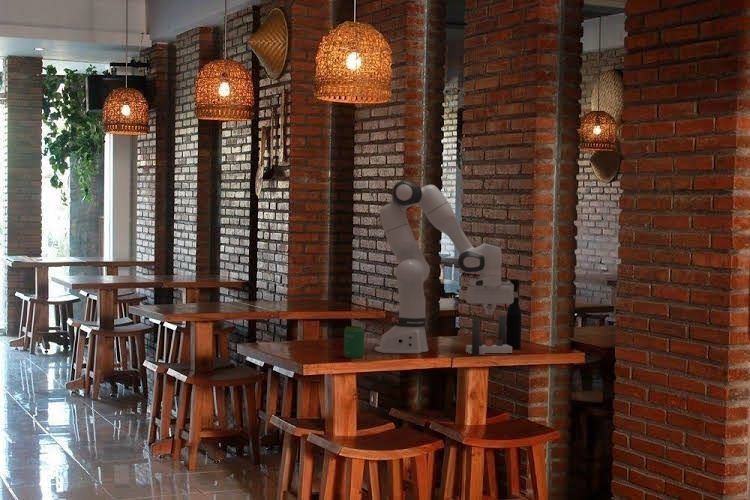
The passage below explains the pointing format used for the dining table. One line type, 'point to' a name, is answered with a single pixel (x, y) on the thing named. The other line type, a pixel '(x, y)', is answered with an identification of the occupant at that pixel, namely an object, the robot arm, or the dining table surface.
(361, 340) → the beverage can
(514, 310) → the wine bottle
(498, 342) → the breaker paddles
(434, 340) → the dining table surface
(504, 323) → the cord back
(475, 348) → the dark grey tall bar
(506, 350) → the breaker box
